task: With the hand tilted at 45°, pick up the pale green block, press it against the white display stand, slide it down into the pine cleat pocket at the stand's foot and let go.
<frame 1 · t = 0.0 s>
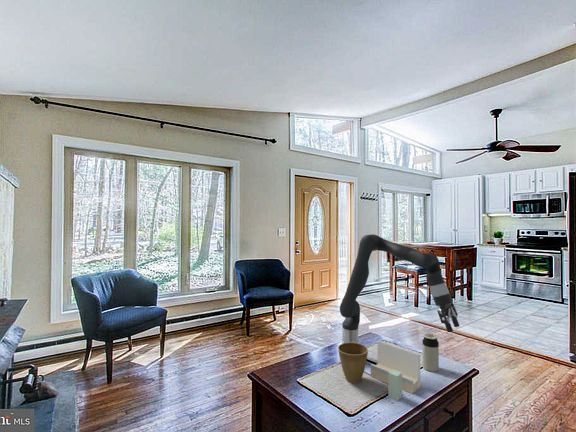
hand: (453, 329, 142), 31 cm above the table, tool tilted 20°, fingers open, 8 cm apart
plant pot: (352, 379, 159), on the table
pale green block: (395, 396, 144), on the table
travel mug: (430, 368, 169), on the table
white display stand: (398, 378, 159), on the table
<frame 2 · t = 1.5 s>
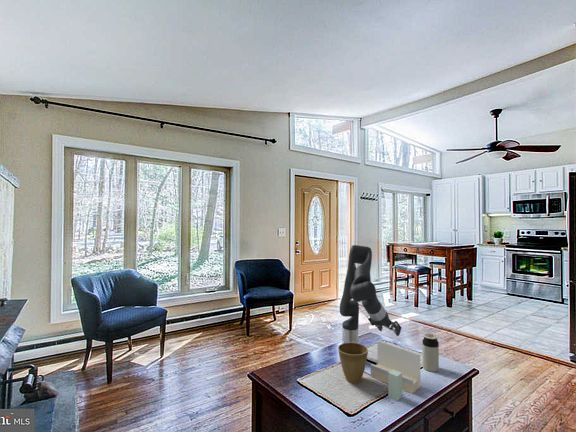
hand: (389, 331, 147), 29 cm above the table, tool tilted 45°, fingers open, 8 cm apart
nothing on the table moved.
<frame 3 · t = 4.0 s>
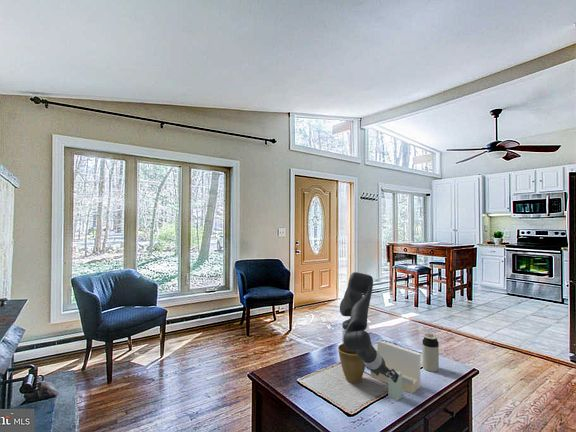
hand: (386, 376, 139), 12 cm above the table, tool tilted 45°, fingers open, 8 cm apart
nothing on the table moved.
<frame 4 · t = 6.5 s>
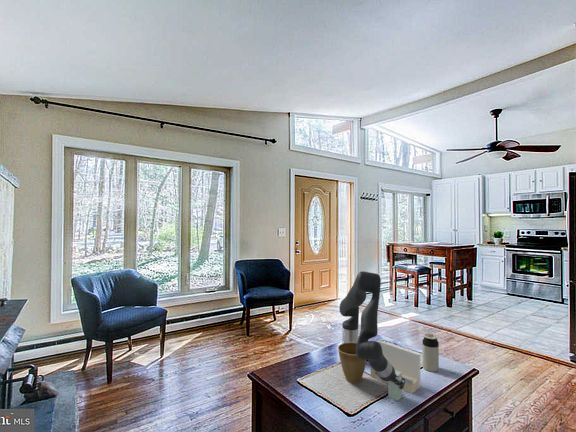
hand: (396, 384, 145), 5 cm above the table, tool tilted 45°, fingers closed on pale green block, 4 cm apart
pale green block: (395, 396, 144), on the table, touching gripper
everything else where it was.
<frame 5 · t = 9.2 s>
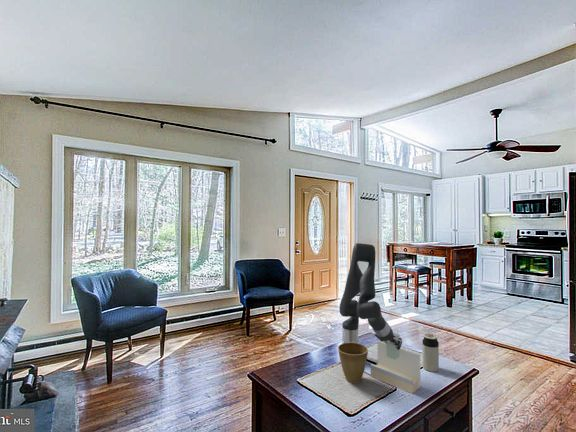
hand: (394, 346, 156), 18 cm above the table, tool tilted 45°, fingers closed on pale green block, 4 cm apart
pale green block: (393, 356, 156), point 13 cm above the table, touching gripper
everything else where it was.
when the fingers open (10 cm above the table, at t = 12.1 s): pale green block stays where it is, resting on white display stand.
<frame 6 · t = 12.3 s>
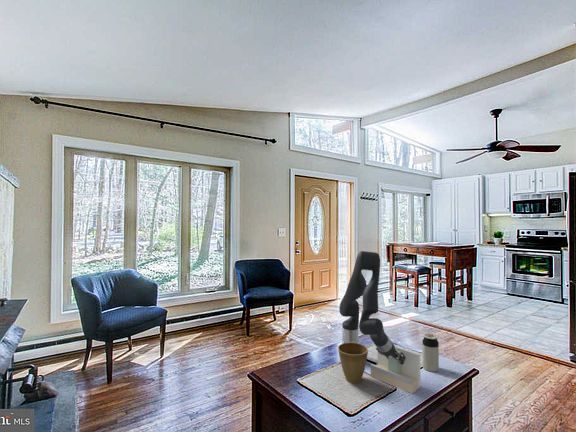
hand: (396, 360, 158), 10 cm above the table, tool tilted 45°, fingers open, 6 cm apart
pale green block: (394, 373, 157), point 4 cm above the table, touching white display stand
everything else where it was.
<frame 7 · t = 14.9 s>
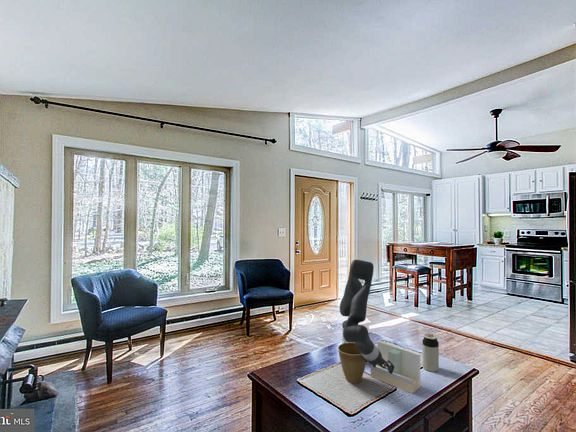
hand: (383, 368, 149), 10 cm above the table, tool tilted 45°, fingers open, 8 cm apart
nothing on the table moved.
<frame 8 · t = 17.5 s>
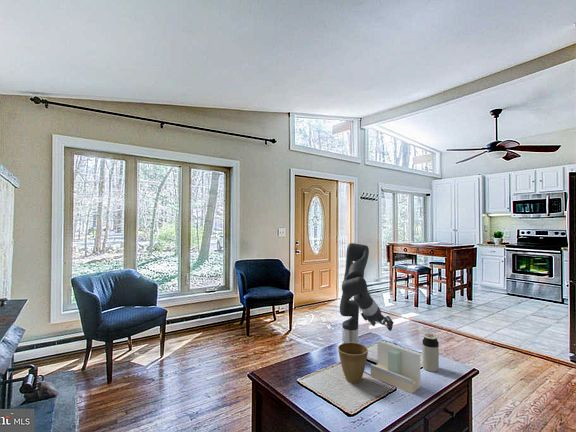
hand: (382, 326, 148), 31 cm above the table, tool tilted 45°, fingers open, 8 cm apart
nothing on the table moved.
at the end: pale green block inside the target area on the white display stand (0.3 cm from its centre), point 4.0 cm above the white display stand's base; pale green block tilted 0°; the gripper is holding nothing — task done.
